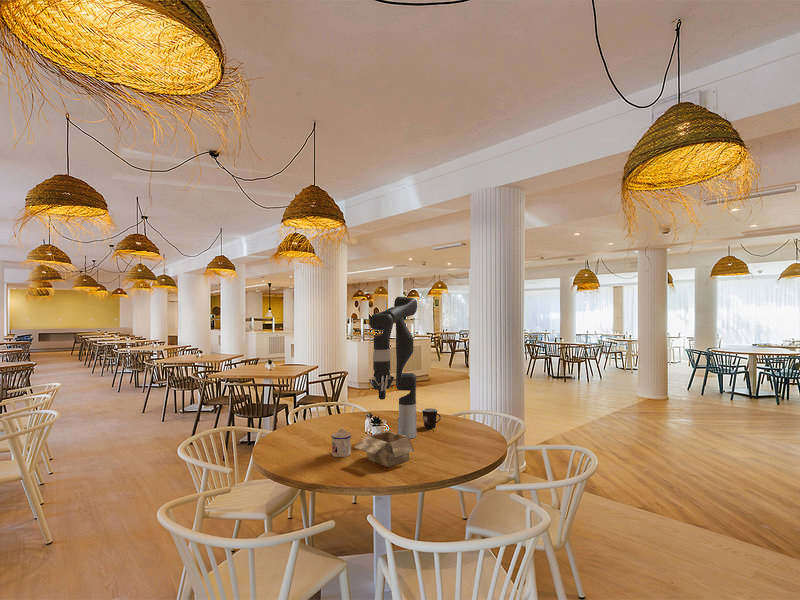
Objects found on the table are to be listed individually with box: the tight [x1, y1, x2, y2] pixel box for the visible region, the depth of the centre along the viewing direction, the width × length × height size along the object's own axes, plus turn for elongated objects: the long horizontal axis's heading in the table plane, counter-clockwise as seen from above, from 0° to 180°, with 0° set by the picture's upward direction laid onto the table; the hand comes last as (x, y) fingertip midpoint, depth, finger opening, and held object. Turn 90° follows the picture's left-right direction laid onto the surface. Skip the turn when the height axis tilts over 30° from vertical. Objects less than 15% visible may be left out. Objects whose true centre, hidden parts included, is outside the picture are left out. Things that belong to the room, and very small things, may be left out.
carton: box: [366, 430, 415, 468], centre depth 186 cm, size 20×16×10 cm
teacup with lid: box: [331, 428, 352, 458], centre depth 192 cm, size 12×9×12 cm
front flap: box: [353, 435, 387, 455], centre depth 177 cm, size 13×1×8 cm
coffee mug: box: [421, 407, 441, 430], centre depth 238 cm, size 12×9×10 cm
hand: (382, 399), depth 182 cm, fingers closed
